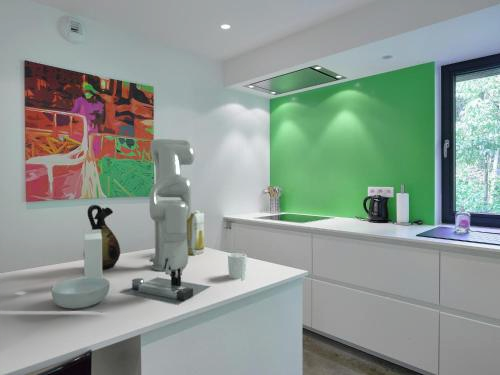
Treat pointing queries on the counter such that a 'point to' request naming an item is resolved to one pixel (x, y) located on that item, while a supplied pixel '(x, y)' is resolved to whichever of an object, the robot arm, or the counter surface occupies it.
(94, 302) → the cereal bowl
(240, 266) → the white cup
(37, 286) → the counter surface
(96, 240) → the milk
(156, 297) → the slate board
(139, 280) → the moving tong arm
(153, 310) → the counter surface
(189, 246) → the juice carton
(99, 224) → the ceramic jug
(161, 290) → the bar
